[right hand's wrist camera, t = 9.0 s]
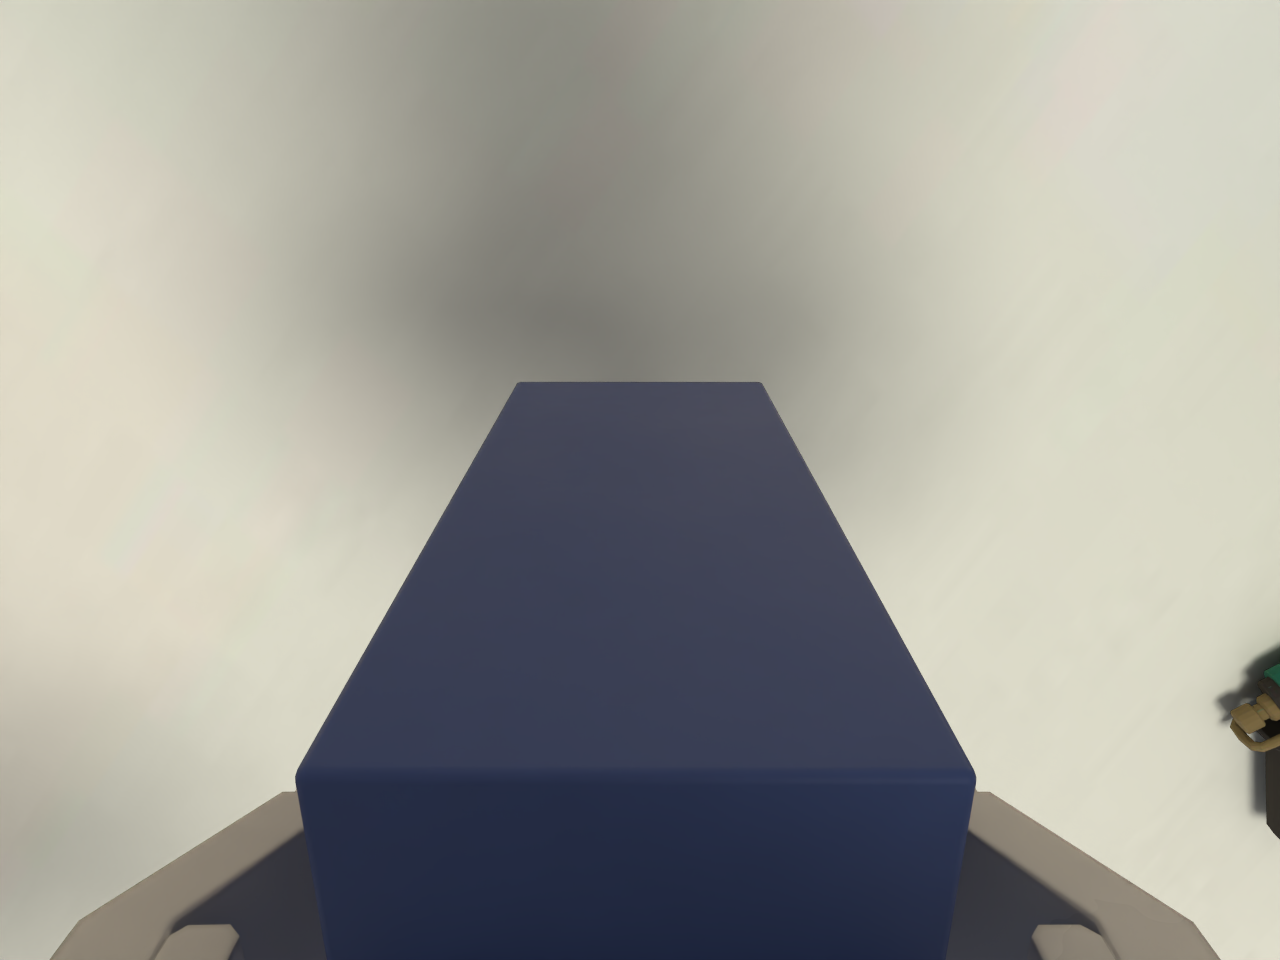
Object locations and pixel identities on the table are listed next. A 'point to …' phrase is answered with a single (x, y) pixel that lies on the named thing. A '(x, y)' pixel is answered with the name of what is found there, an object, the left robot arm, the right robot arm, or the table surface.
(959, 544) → the table surface
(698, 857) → the brick
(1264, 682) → the spray gun
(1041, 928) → the right robot arm
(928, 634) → the table surface
